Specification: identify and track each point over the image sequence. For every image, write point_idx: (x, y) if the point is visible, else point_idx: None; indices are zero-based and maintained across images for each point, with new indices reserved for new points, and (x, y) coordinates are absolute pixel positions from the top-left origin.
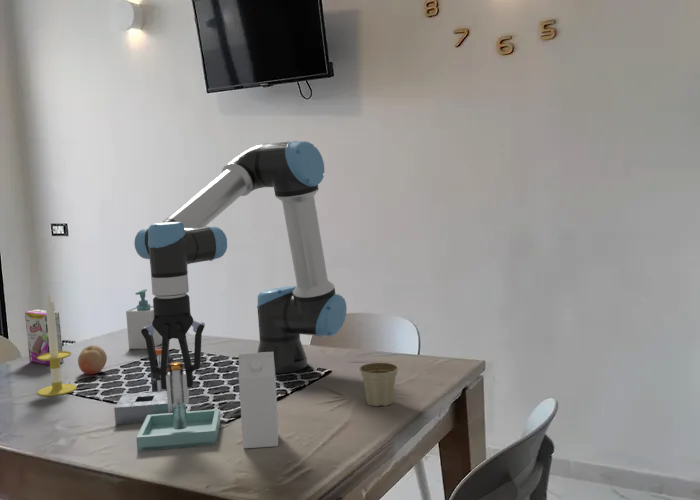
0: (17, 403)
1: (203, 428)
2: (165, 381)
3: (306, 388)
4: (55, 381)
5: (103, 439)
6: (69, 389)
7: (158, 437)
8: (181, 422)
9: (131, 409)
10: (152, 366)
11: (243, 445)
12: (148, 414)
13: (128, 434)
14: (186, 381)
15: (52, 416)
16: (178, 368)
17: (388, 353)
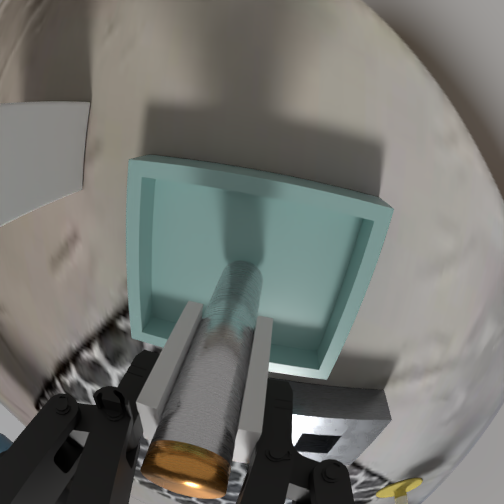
0: (451, 463)
1: (179, 273)
2: (268, 410)
3: (40, 378)
4: (404, 496)
5: (430, 321)
6: (388, 489)
7: (322, 189)
8: (234, 270)
9: (355, 413)
10: (340, 496)
11: (85, 102)
12: (316, 398)
13: (376, 332)
14: (152, 372)
15: (446, 432)
16: (165, 448)
17: (6, 407)
